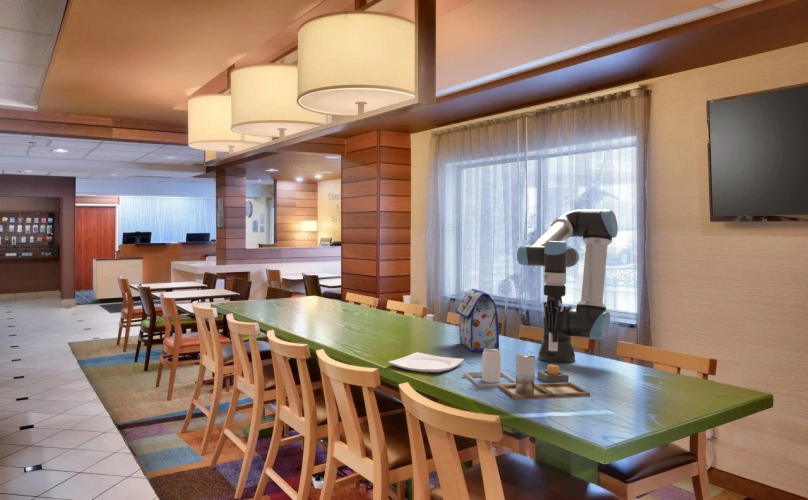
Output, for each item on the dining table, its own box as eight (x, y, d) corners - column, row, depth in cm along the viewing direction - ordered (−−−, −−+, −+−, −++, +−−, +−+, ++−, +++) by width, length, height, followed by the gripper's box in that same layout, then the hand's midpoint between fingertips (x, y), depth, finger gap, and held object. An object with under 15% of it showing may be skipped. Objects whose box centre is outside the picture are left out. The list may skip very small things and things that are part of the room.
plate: (438, 377, 207) (439, 370, 207) (383, 368, 220) (383, 361, 220) (467, 365, 228) (467, 358, 228) (415, 357, 241) (415, 351, 241)
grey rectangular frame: (502, 375, 210) (502, 370, 210) (520, 388, 192) (521, 383, 192) (463, 377, 207) (463, 372, 207) (478, 390, 190) (479, 385, 190)
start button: (555, 375, 203) (555, 364, 203) (560, 378, 199) (560, 367, 199) (545, 375, 203) (545, 364, 203) (550, 378, 199) (550, 367, 199)
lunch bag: (453, 343, 272) (454, 288, 272) (486, 342, 275) (487, 288, 274) (466, 353, 250) (467, 292, 249) (501, 352, 253) (503, 292, 252)
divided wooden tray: (570, 388, 194) (570, 382, 194) (589, 398, 182) (589, 392, 181) (498, 390, 189) (499, 385, 189) (513, 402, 177) (513, 395, 177)
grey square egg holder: (558, 379, 206) (558, 369, 206) (568, 385, 198) (568, 375, 198) (537, 380, 204) (537, 370, 204) (547, 386, 196) (547, 376, 196)
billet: (529, 389, 188) (530, 353, 187) (537, 394, 182) (538, 357, 182) (512, 390, 187) (513, 354, 186) (519, 395, 181) (520, 358, 180)
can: (500, 385, 196) (500, 351, 196) (481, 384, 197) (481, 350, 197) (500, 381, 202) (501, 347, 202) (482, 379, 204) (483, 346, 203)
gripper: (537, 283, 206) (535, 347, 206) (553, 286, 193) (551, 354, 193) (556, 283, 207) (554, 347, 208) (573, 286, 194) (571, 354, 195)
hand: (553, 350), depth 201 cm, fingers closed
